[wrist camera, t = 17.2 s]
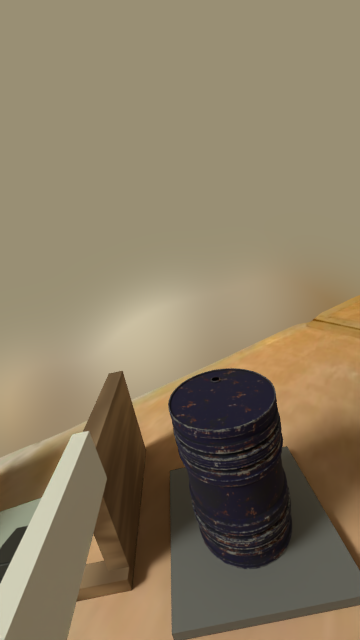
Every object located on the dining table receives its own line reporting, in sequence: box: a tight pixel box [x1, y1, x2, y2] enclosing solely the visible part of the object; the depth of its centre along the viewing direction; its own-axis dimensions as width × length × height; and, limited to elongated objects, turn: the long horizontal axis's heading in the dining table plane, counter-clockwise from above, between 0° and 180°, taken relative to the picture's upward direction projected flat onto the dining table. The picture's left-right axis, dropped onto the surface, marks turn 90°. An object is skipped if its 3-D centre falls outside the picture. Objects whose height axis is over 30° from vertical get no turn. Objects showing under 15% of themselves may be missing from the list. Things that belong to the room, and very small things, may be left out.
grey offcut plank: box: [0, 498, 41, 548], centre depth 32 cm, size 11×5×2 cm, turn 102°
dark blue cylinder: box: [168, 368, 292, 569], centre depth 27 cm, size 10×10×15 cm
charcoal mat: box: [170, 447, 360, 640], centre depth 29 cm, size 16×16×1 cm
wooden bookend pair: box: [77, 371, 146, 601], centre depth 33 cm, size 28×18×14 cm, turn 93°
